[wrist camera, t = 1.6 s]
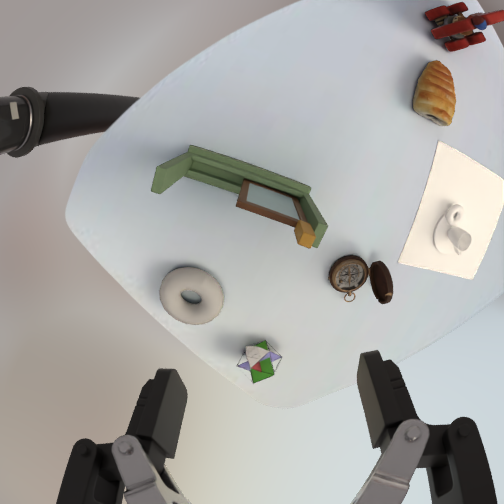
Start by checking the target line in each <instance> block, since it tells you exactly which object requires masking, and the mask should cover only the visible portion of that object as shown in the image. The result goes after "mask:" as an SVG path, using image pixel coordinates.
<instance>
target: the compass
mask: <svg viewBox="0 0 504 504" xmlns="http://www.w3.org/2000/svg"><path fill="white" fill-rule="evenodd" d="M368 274H369V276H370V281H371V286H372V290H373V292H374V295H375V297H376V299H378V301H379V302H380V303H381V304H386V303H388V302H390V301H391V299H392V295H393V282H392V278H391V275H390V272H389V270H388V268H387V267H386V265H385V264H384V263H383V262H381V261H376V262H373V263H372V264H371V267H370V268H369V269H368V266H367V264H366V262H365V261H364V260H363V259H362V258H360V257H358V256H353V255H350V256H345V257H343V258H340V259H339V260H338V261H336V262H335V263H334V265H333V266H332V267H331V270H330V272H329V277H328V279H330V283H331V285H332V286H333V288H334V289H336V290H337V291H340V292H346V293H347V292H348V293H347V294H348V296H351V293H352V292H353V291H355V290H357V289H359V288H360V287H361V286H362V285H363V284H364V283H365V282H366V280H367V277H368ZM347 294H346V295H347ZM352 294H354V293H352ZM346 295H345V296H346ZM345 296H344V300H345ZM354 299H355V294H354ZM354 299H353V300H354ZM353 300H351V301H353ZM345 301H346V300H345ZM351 301H346V302H351Z"/></svg>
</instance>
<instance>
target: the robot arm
mask: <svg viewBox="0 0 504 504" xmlns="http://www.w3.org/2000/svg"><path fill="white" fill-rule="evenodd" d="M33 125H34V109H33V105H32V102H31V100H30V99H29V98H28V97H27V96H26V95H15V96H6V97H0V155H1V154H4V153H8V152H11V151H16V150H19V149H21V148H23V147H24V146H25V145H26V143H27V142H28V140H29V138H30V136H31V133H32V130H33ZM357 385H358V389H359V393H360V397H361V401H362V405H363V409H364V412H365V417H366V421H367V425H368V429H369V433H370V438H371V443H372V447H373V449H374V448H378V447H380V449H381V453H382V454H381V456H380V458H379V460H378V461H377V463H376V465H375V467H374V468H373V470H372V472H371V474H370V475H369V477H368V478H367V480H366V482H365V483H364V485H363V486H362V488H361V489H360V491H359V492H358V494H357V495H356V497H355V498H354V499H353V501H352V502H351V504H401V503H402V501H403V500H404V498H405V496H406V494H407V492H408V489H409V486H410V485H409V482H410V480H411V478H412V476H413V474H414V471H415V469H416V468H426V470H427V475H428V481H429V486H430V492H431V499H432V504H497V498H496V494H495V488H494V484H493V480H492V475H491V471H490V468H489V463H488V460H487V456H486V453H485V450H484V446H483V443H482V440H481V437H480V434H479V431H478V428H477V425H476V423H475V422H474V421H473V420H472V419H470V418H467V417H460V418H457V419H456V420H454V421H453V422H452V423H451V424H449V425H429V424H426V423H424V422H423V421H421V420H420V419H419V417H418V416H417V414H416V411H415V408H414V406H413V403H412V400H411V398H410V395H409V392H408V390H407V387H406V386H405V382H404V380H403V378H402V375H401V372H400V370H399V367H397V365H396V364H395V363H394V362H393V361H391V360H386V361H383V360H382V357H381V355H380V352H379V351H378V350H375V351H370V352H365V353H361V354H360V360H359V366H358V371H357ZM186 403H187V389H186V387H185V385H184V384H183V382H182V380H181V378H180V376H179V374H178V372H177V370H175V369H158V370H157V372H156V375H155V378H154V379H149V380H148V381H147V383H146V384H145V385H144V386H143V387H142V390H141V393H140V395H139V399H138V401H137V406H135V409H134V412H133V415H132V418H131V421H130V424H129V426H128V429H127V432H126V434H125V435H123V436H120V437H119V438H117V439H116V440H115V441H114V443H106V444H95V443H94V442H93V441H92V440H90V439H86V438H85V439H81V440H79V441H77V442H76V443H75V445H74V446H73V449H72V452H71V455H70V458H69V461H68V464H67V467H66V470H65V474H64V477H63V481H62V484H61V488H60V492H59V495H58V499H57V502H56V504H122V499H123V494H124V497H125V499H126V502H127V504H191V503H190V502H189V500H187V499H186V497H184V495H183V494H182V492H181V491H180V489H179V487H178V486H177V484H176V482H175V481H174V479H173V477H172V476H171V474H170V472H169V471H168V469H167V467H166V465H165V464H164V463H165V458H172V459H174V457H175V452H176V448H177V443H178V438H179V434H180V429H181V425H182V420H183V416H184V412H185V407H186ZM125 486H126V491H125V492H124V489H125Z"/></svg>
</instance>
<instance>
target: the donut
mask: <svg viewBox="0 0 504 504" xmlns="http://www.w3.org/2000/svg"><path fill="white" fill-rule="evenodd" d="M184 290H191V291H194V292H196V293H197V294H199V295H200V297H201V299H202V301H201V302H200V303H198V304H191V303H188V302H186V301H185V300H184V299H183V298H182V297H181V292H182V291H184ZM159 293H160V300H161V303H162V305H163V307H164V309H165V310H166V311H167V312H168V314H169V315H171V316H172V317H173V318H175V319H176V320H178V321H181V322H183V323H185V324H192V325H199V324H205V323H207V322H210V321H212V320H213V319H214V318H216V317H217V316H218V315H219V313H220V311H221V309H222V307H223V302H224V295H223V292H222V288H221V286H220V285H219V283H218V282H217V281H216V279H215V278H214V277H212V276H211V275H210V274H209V273H207V272H205V271H203V270H201V269H198V268H192V267H185V268H178V269H176V270H174V271H172V272H170V273H169V274H168V275H167V276H166V277H165V278H164V279H163V280H162V283H161V286H160V290H159Z"/></svg>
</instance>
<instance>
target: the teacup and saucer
mask: <svg viewBox="0 0 504 504" xmlns="http://www.w3.org/2000/svg"><path fill="white" fill-rule="evenodd" d="M472 241H473V237H472V235H471V234H470V220H469V217H468V215H467V214H466V213H465V209H464V207H463V206H462V205H461V204H459V203H455V204H452V205H451V206H450V207H449V208H448V209H447V211H446V213H445V214H444V215H443V216H442V217H441V218H440V219H439V221H438V223H437V224H436V227H435V230H434V234H433V243H434V247H435V249H436V250H437V251H438V252H439V253H440V254H441V255H444V256H450V255H453V254H456V255H457V256H462V255H463V253H464V252H466V251H467V250H468V249H469V248H470V246H471V245H472Z"/></svg>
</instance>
